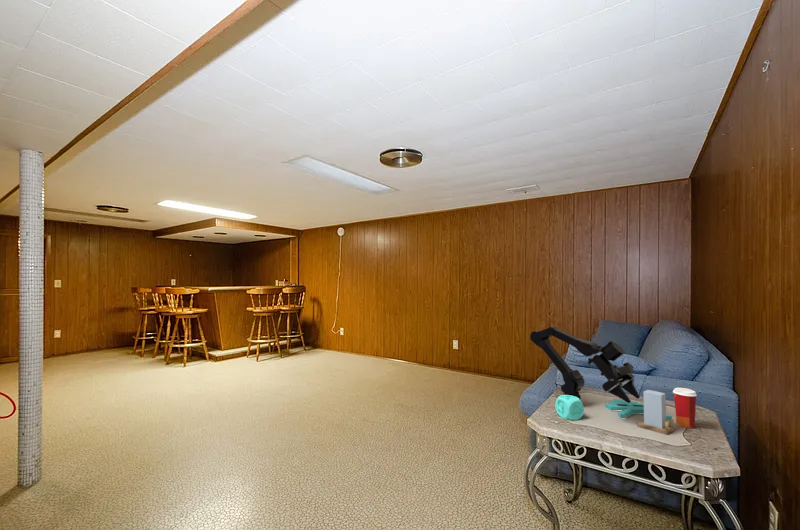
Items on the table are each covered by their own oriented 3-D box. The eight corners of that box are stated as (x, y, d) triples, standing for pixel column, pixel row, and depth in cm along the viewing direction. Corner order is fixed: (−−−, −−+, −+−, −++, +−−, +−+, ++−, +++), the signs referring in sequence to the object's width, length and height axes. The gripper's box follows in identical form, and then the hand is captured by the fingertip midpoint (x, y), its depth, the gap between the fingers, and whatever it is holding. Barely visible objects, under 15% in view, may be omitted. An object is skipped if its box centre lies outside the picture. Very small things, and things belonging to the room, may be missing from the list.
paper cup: (691, 422, 146) (690, 388, 147) (702, 430, 139) (701, 393, 140) (669, 421, 148) (668, 386, 149) (679, 428, 141) (678, 392, 141)
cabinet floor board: (636, 426, 142) (636, 415, 143) (644, 421, 147) (644, 411, 147) (667, 435, 134) (667, 423, 134) (674, 429, 139) (674, 418, 139)
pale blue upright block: (644, 423, 142) (643, 391, 143) (648, 421, 145) (647, 389, 145) (662, 428, 137) (661, 395, 138) (666, 425, 140) (665, 393, 140)
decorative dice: (584, 419, 149) (584, 399, 150) (568, 421, 147) (568, 401, 147) (570, 412, 157) (569, 394, 157) (555, 414, 155) (554, 395, 155)
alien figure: (671, 421, 149) (644, 405, 168) (671, 416, 149) (643, 400, 169) (620, 419, 151) (599, 403, 170) (620, 414, 151) (599, 399, 171)
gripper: (610, 359, 146) (641, 393, 137) (629, 354, 157) (659, 385, 148) (590, 374, 152) (619, 408, 143) (610, 368, 163) (637, 399, 154)
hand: (634, 400), depth 147 cm, fingers open, 9 cm apart
